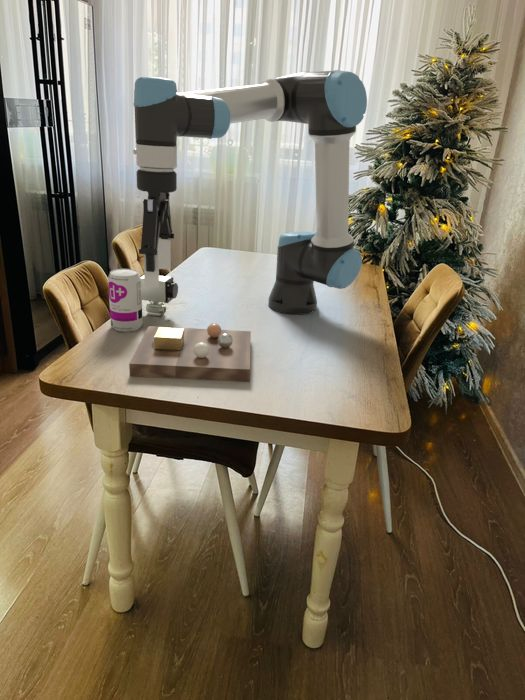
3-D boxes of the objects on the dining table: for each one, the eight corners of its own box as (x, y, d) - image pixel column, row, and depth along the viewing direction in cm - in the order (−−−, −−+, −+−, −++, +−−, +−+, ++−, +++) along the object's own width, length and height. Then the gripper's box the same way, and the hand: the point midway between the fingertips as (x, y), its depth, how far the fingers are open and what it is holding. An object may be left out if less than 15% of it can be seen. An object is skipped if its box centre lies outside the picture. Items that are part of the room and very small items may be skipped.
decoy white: (209, 354, 116) (210, 340, 114) (208, 360, 113) (208, 346, 111) (194, 353, 116) (194, 339, 114) (192, 360, 112) (192, 345, 111)
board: (250, 342, 131) (250, 331, 130) (249, 381, 111) (249, 369, 110) (149, 336, 130) (148, 326, 129) (129, 376, 110) (129, 363, 109)
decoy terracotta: (221, 334, 127) (222, 321, 125) (220, 340, 124) (221, 326, 122) (207, 334, 127) (207, 320, 125) (206, 339, 123) (206, 326, 122)
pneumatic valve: (172, 319, 142) (172, 278, 137) (133, 314, 144) (131, 273, 139) (179, 313, 147) (179, 273, 142) (141, 308, 149) (140, 268, 144)
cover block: (184, 340, 122) (184, 328, 121) (180, 350, 117) (180, 338, 115) (159, 338, 122) (158, 327, 121) (154, 348, 116) (154, 336, 115)
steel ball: (232, 344, 121) (233, 331, 120) (232, 350, 118) (232, 337, 117) (218, 344, 121) (218, 330, 120) (217, 350, 118) (217, 336, 117)
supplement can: (126, 335, 130) (123, 278, 124) (104, 327, 134) (100, 272, 128) (149, 326, 137) (147, 272, 131) (127, 319, 141) (124, 266, 134)
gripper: (150, 163, 108) (152, 261, 117) (119, 173, 85) (125, 294, 94) (185, 165, 108) (185, 263, 117) (164, 176, 85) (165, 296, 94)
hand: (158, 277), depth 105 cm, fingers open, 13 cm apart
